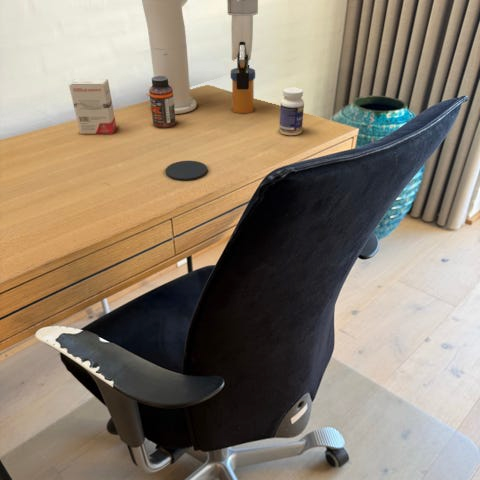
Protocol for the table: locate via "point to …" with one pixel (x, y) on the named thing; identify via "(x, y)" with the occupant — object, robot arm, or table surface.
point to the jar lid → (250, 70)
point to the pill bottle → (291, 111)
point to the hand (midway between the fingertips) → (243, 84)
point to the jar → (243, 98)
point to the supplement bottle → (162, 102)
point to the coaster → (186, 170)
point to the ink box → (93, 106)
